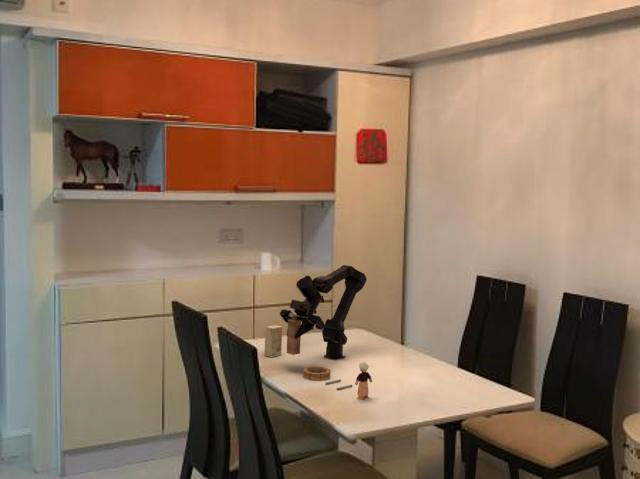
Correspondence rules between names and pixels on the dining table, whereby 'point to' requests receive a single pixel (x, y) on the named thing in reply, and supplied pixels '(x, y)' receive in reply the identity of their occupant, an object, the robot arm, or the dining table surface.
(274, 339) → the skincare box
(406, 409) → the dining table surface
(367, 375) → the grandmother figurine
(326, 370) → the bead ring
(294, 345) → the brown wooden peg
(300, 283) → the robot arm
